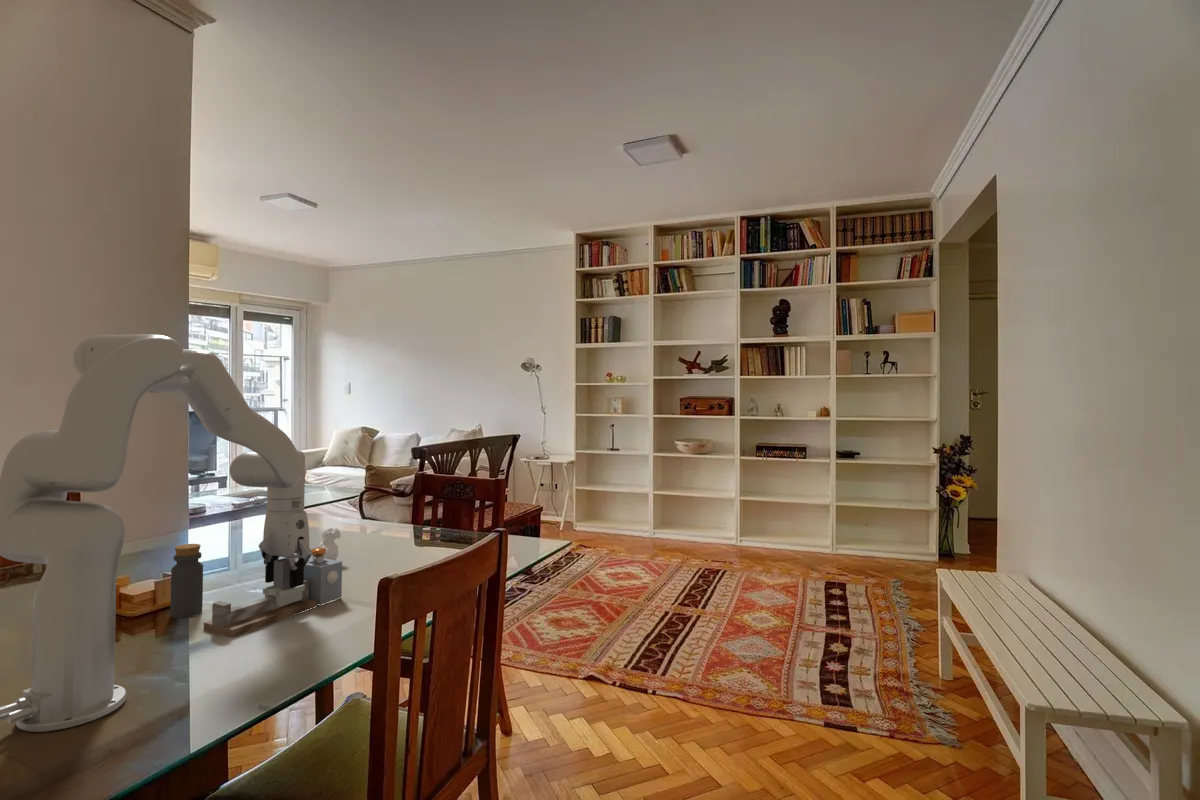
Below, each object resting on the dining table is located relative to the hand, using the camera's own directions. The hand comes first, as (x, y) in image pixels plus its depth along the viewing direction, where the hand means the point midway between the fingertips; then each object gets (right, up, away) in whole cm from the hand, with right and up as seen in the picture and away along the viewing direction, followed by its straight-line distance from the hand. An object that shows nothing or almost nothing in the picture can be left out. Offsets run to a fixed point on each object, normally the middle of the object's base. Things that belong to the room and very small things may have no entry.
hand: (284, 583), depth 136 cm
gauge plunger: (+4, 0, +8) cm, 9 cm away
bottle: (-20, -6, -3) cm, 21 cm away
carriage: (0, -4, 0) cm, 4 cm away
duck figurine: (-9, -7, +40) cm, 42 cm away
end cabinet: (+4, -6, +8) cm, 11 cm away
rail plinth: (-2, -6, -5) cm, 8 cm away
